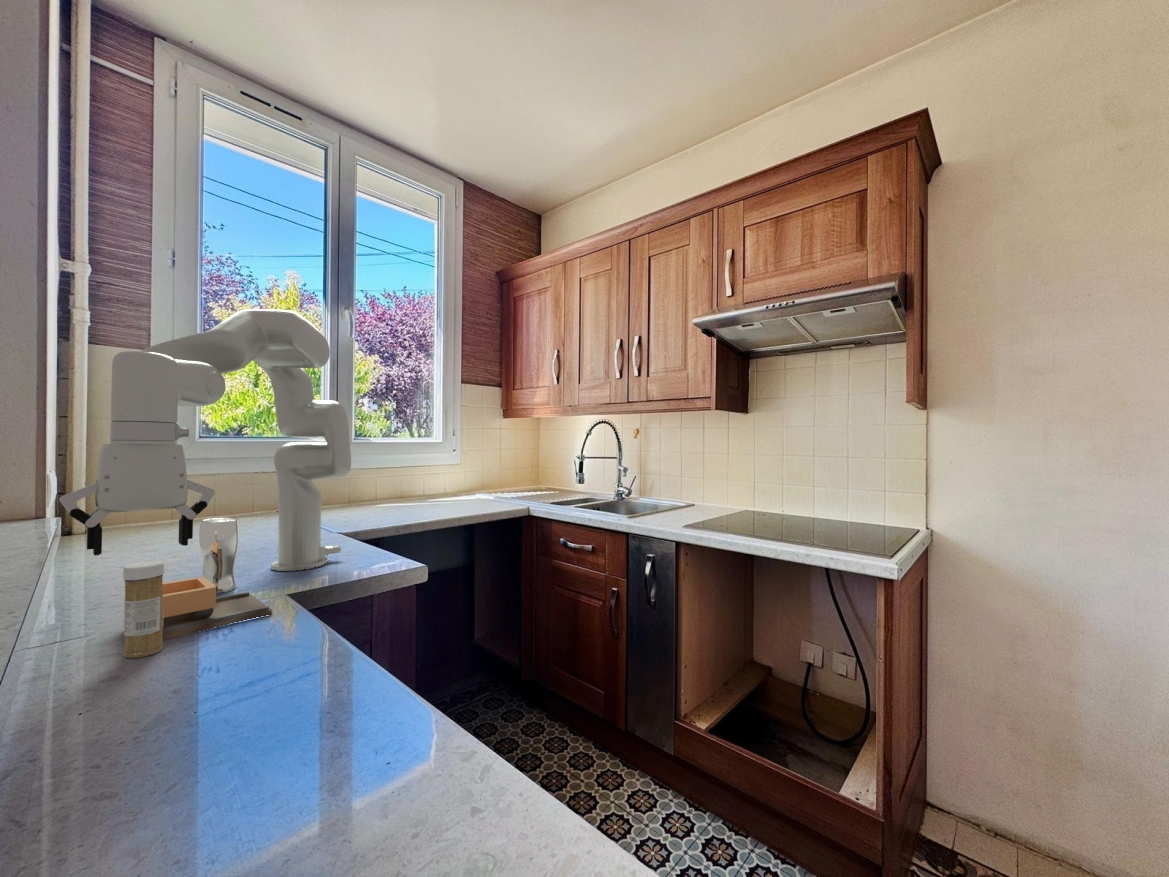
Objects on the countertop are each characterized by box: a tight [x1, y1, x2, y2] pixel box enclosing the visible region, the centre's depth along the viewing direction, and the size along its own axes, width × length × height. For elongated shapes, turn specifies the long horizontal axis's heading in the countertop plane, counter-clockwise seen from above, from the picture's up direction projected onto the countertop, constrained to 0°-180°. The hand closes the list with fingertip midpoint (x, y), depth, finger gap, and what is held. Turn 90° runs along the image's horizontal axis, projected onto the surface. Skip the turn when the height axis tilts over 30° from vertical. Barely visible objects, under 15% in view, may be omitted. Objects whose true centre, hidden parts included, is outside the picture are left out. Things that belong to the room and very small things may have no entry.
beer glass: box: [197, 517, 240, 594], centre depth 106 cm, size 7×7×15 cm
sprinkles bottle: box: [122, 560, 165, 659], centre depth 74 cm, size 5×5×14 cm
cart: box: [162, 575, 217, 619], centre depth 85 cm, size 10×10×5 cm
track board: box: [162, 591, 273, 641], centre depth 88 cm, size 18×14×2 cm
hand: (142, 548), depth 74 cm, fingers open, 9 cm apart
